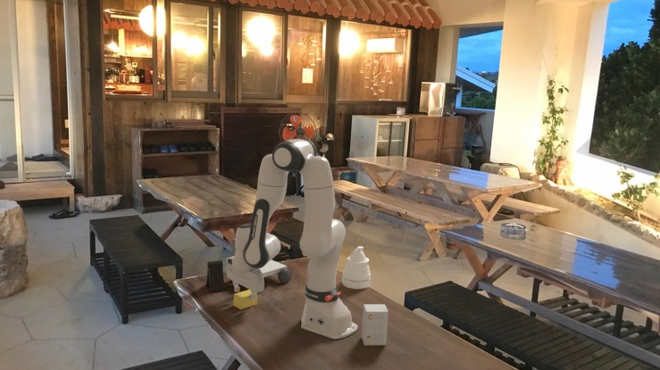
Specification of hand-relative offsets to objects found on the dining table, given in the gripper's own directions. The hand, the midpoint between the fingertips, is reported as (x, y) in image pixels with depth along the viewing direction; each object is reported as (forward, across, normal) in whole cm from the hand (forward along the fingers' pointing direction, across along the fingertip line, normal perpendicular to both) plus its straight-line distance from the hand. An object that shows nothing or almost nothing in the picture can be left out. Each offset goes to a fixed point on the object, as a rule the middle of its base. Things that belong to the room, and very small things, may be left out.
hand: (244, 295), depth 218 cm
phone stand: (+5, +21, -1) cm, 22 cm away
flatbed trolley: (+4, +14, -20) cm, 25 cm away
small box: (+3, -55, -15) cm, 57 cm away
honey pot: (+3, -16, -52) cm, 55 cm away
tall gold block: (+4, -1, 0) cm, 4 cm away
